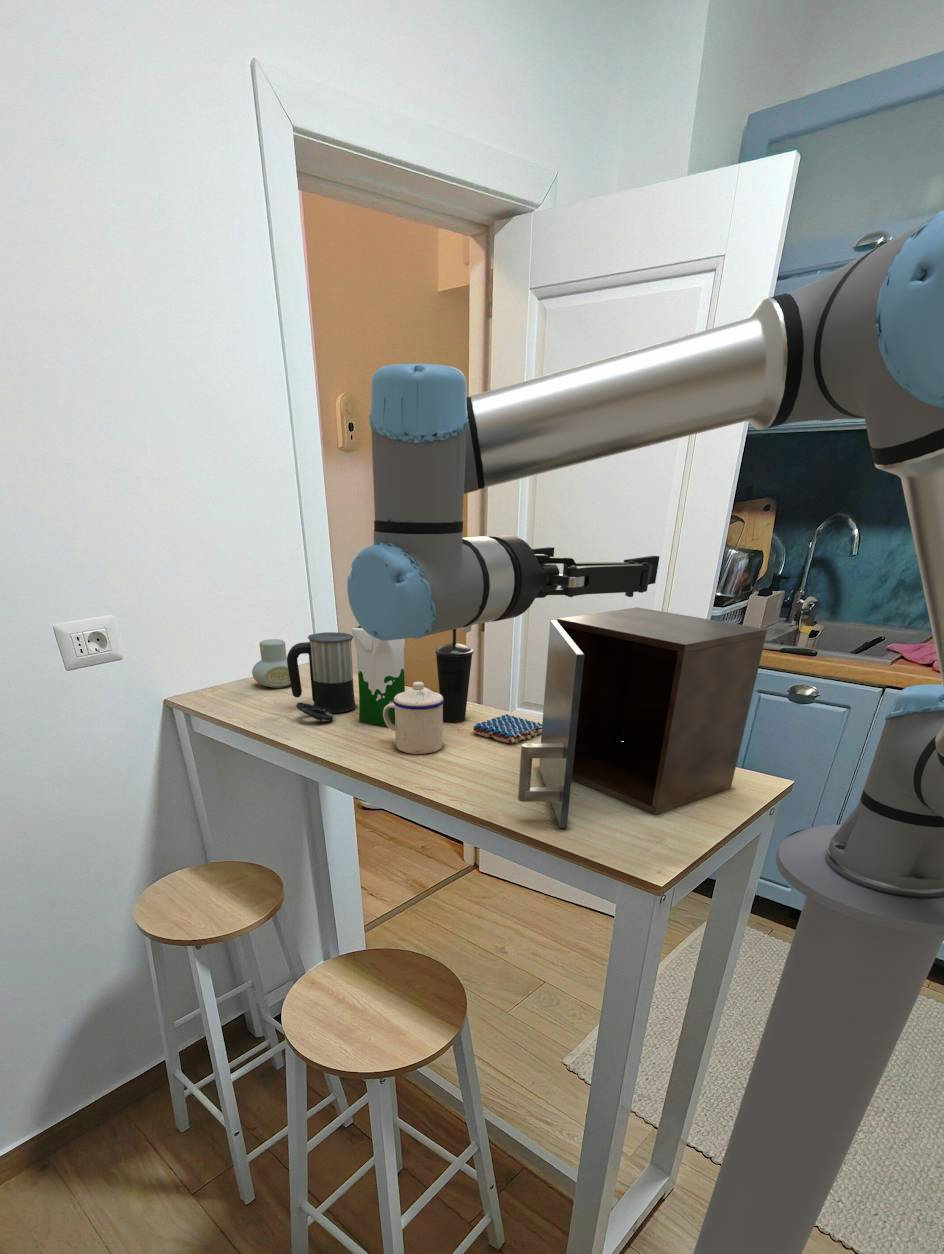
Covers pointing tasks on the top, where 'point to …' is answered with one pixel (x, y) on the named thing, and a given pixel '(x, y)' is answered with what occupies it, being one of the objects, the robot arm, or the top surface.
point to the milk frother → (325, 674)
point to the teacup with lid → (417, 720)
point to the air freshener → (272, 665)
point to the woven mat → (508, 728)
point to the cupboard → (661, 704)
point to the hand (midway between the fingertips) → (600, 564)
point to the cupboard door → (556, 727)
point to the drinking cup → (454, 678)
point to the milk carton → (378, 675)
